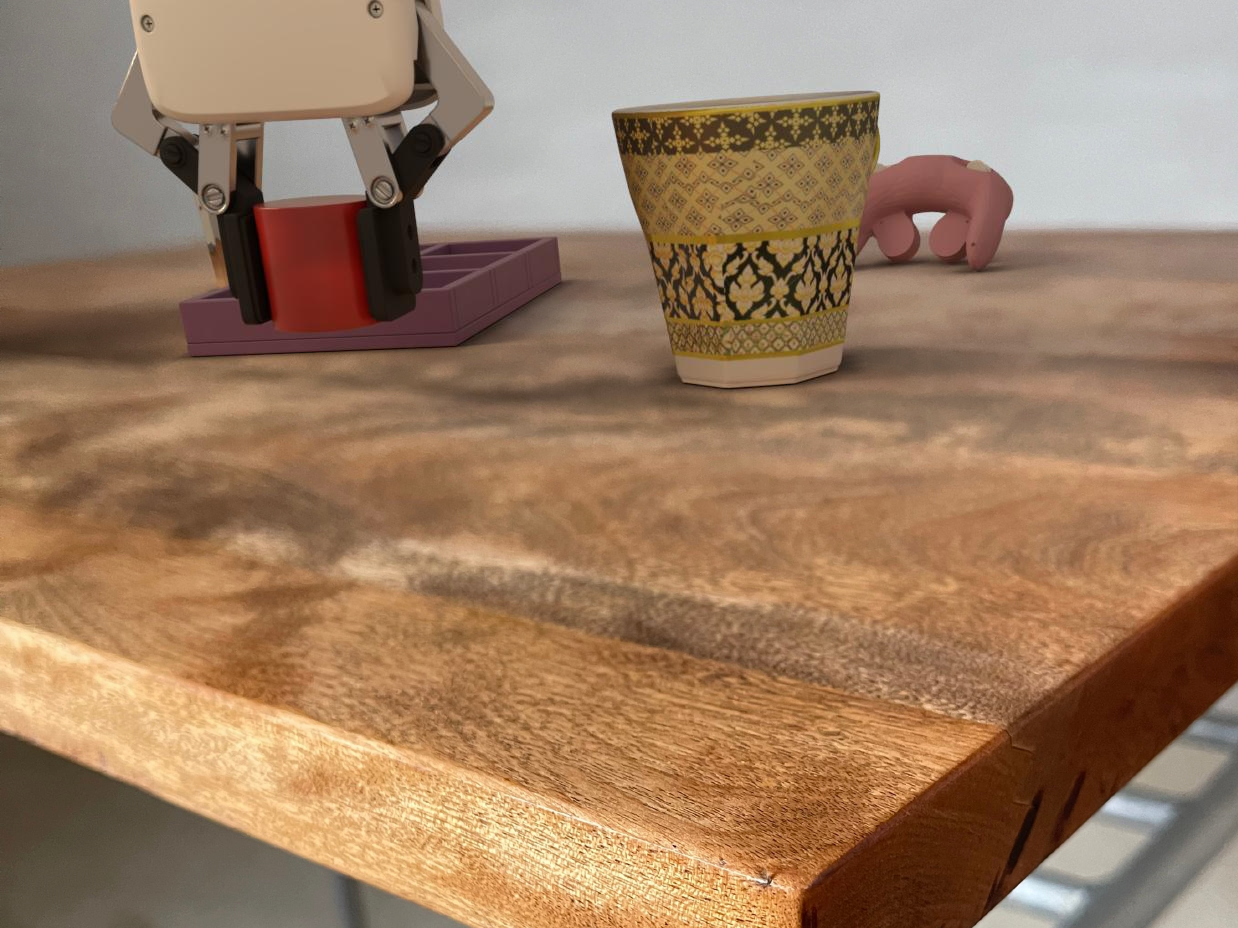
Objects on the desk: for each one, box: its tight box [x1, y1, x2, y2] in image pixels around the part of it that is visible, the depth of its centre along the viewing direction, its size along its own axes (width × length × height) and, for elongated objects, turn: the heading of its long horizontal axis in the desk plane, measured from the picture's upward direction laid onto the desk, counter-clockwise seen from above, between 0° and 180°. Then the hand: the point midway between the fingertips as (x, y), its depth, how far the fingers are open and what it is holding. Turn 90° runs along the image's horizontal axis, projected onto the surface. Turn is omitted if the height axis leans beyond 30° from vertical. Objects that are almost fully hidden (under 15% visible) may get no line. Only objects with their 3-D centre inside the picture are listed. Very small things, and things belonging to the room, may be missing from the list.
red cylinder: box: [253, 194, 382, 333], centre depth 53 cm, size 4×4×4 cm
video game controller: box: [856, 154, 1015, 272], centre depth 80 cm, size 10×5×7 cm, turn 59°
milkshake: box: [191, 122, 266, 289], centre depth 91 cm, size 4×5×10 cm
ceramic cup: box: [610, 90, 881, 389], centre depth 56 cm, size 13×10×10 cm
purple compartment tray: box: [178, 236, 563, 357], centre depth 77 cm, size 20×14×3 cm
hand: (330, 312), depth 54 cm, fingers closed on red cylinder, 4 cm apart
